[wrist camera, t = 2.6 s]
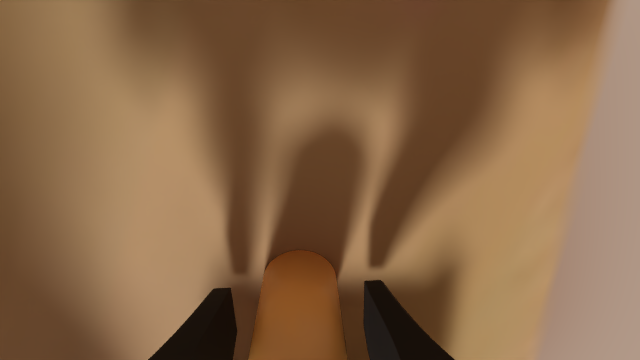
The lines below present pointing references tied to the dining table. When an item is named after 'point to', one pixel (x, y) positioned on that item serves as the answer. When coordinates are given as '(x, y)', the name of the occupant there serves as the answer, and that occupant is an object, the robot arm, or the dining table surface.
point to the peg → (298, 311)
